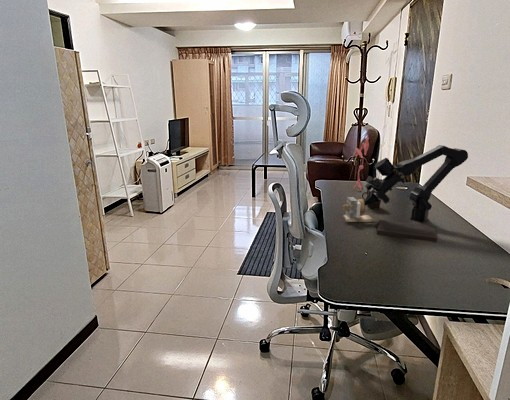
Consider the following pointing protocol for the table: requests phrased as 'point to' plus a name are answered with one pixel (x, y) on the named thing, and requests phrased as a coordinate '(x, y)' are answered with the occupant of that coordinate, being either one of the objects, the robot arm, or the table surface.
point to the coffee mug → (373, 205)
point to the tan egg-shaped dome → (362, 209)
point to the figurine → (362, 161)
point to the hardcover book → (407, 230)
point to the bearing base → (362, 219)
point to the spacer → (358, 210)
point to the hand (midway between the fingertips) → (363, 205)
